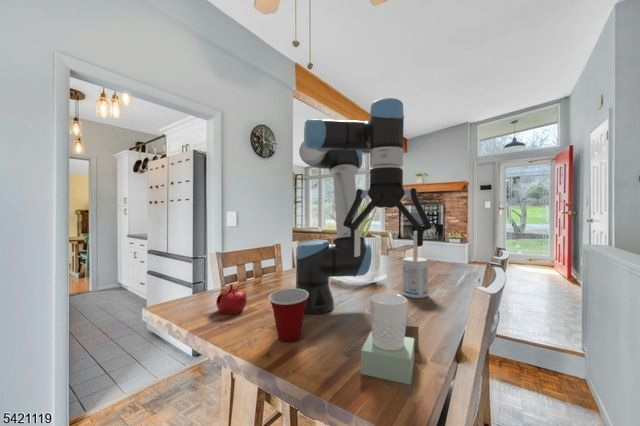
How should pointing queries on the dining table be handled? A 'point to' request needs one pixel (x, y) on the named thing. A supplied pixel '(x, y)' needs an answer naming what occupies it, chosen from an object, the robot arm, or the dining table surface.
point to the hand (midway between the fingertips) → (385, 258)
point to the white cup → (388, 320)
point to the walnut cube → (412, 331)
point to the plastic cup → (289, 312)
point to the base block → (388, 361)
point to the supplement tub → (415, 277)
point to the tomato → (231, 300)
